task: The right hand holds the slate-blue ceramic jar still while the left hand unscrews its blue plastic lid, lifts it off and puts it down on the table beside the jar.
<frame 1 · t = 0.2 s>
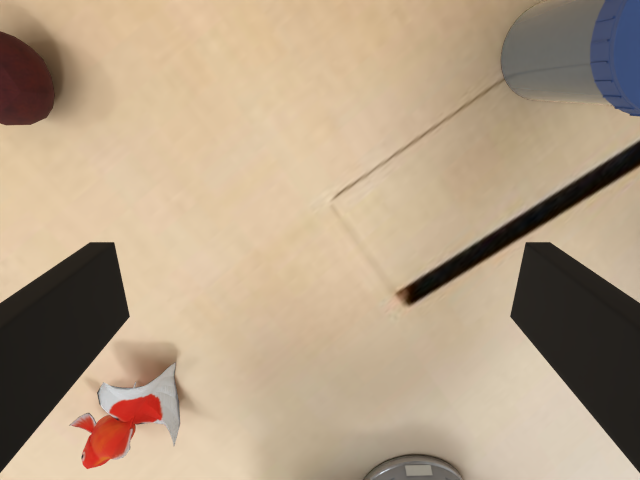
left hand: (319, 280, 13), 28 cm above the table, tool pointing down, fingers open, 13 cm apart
jar: (546, 52, 35), on the table
dark maroon ball: (32, 81, 36), on the table
fish: (143, 389, 50), on the table
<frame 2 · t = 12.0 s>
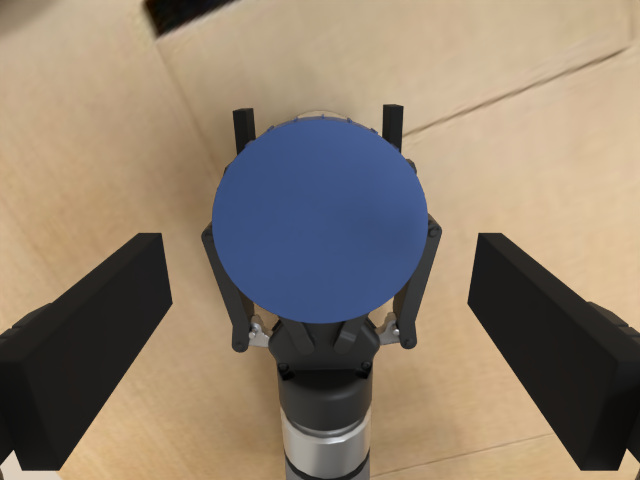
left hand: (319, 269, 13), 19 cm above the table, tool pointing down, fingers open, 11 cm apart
right hand: (317, 107, 24), fingers closed on jar, 8 cm apart
lid: (320, 229, 17), point 15 cm above the table, screwed on, not yet turned
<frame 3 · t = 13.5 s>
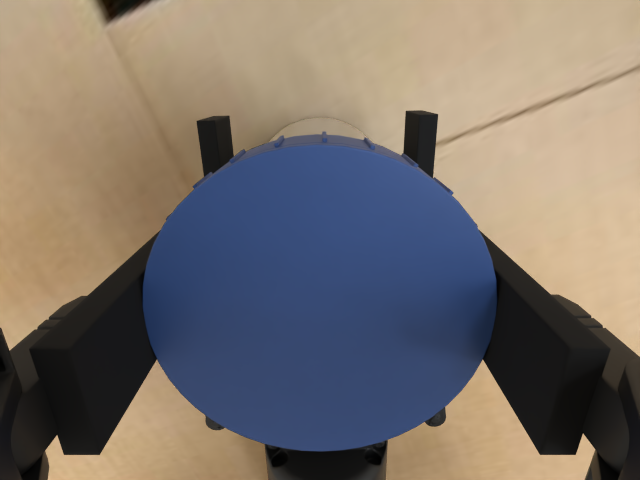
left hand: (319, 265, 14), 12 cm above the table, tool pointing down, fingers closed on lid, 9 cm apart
jar: (319, 185, 25), on the table, touching right hand
lid: (319, 316, 11), point 15 cm above the table, screwed on, not yet turned, touching left hand
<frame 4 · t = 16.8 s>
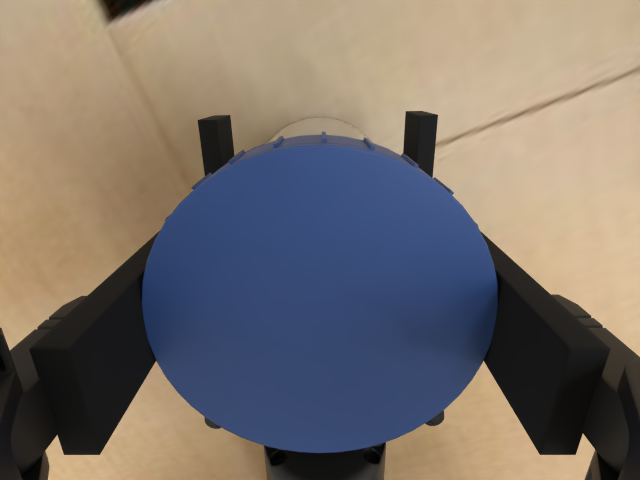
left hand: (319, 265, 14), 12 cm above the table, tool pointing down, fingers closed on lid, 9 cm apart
jar: (319, 185, 25), on the table, touching right hand
lid: (319, 317, 11), point 15 cm above the table, turned 111° so far, risen 0.1 cm, still on its thread, touching left hand
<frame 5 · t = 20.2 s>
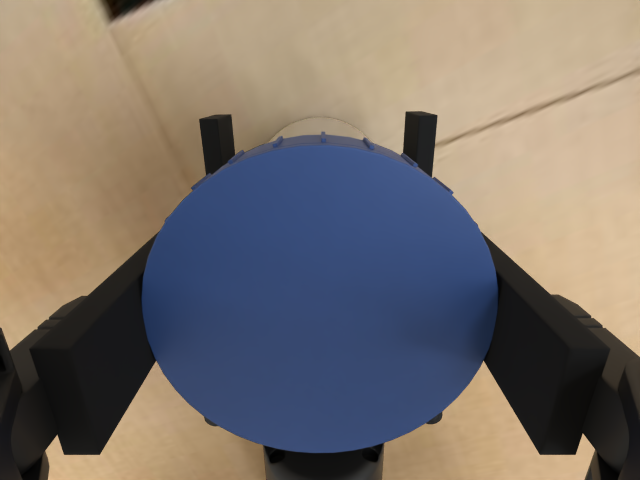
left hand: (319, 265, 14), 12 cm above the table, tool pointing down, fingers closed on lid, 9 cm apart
jar: (319, 184, 25), on the table, touching right hand
lid: (319, 317, 11), point 16 cm above the table, turned 223° so far, risen 0.3 cm, still on its thread, touching left hand
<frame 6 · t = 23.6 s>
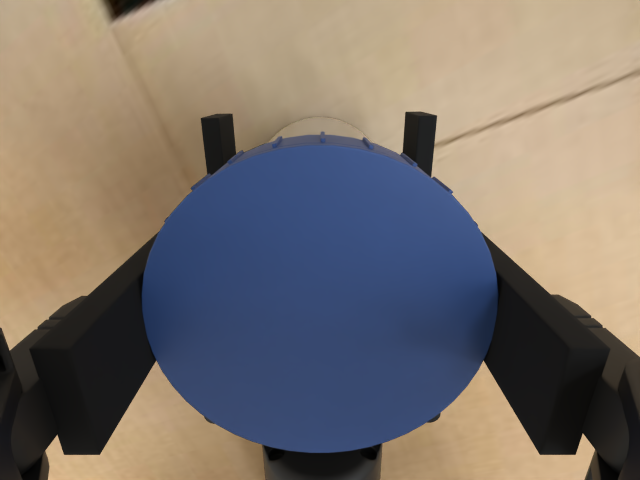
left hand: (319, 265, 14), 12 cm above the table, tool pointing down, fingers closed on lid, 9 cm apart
jar: (319, 184, 25), on the table, touching right hand
lid: (319, 317, 11), point 16 cm above the table, turned 334° so far, risen 0.4 cm, still on its thread, touching left hand
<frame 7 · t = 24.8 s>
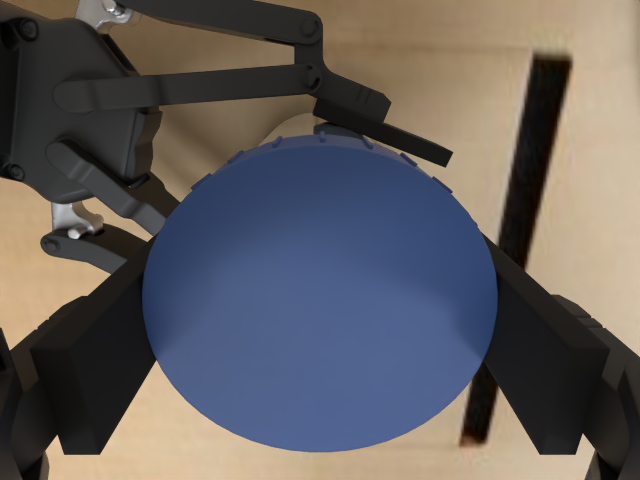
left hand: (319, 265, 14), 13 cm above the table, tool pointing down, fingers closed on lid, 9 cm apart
right hand: (400, 236, 20), fingers closed on jar, 8 cm apart
jar: (317, 177, 26), on the table, touching right hand
lid: (319, 317, 11), point 16 cm above the table, off its thread, touching left hand
when the left hand's fingers open (0 cm above the table, at t = 30.5 s): lid drops 2 cm, point 2 cm above the table.
when the right hand's fingers open (7 cm above the table, at t = 31.6 s): jar stays where it is, on the table.
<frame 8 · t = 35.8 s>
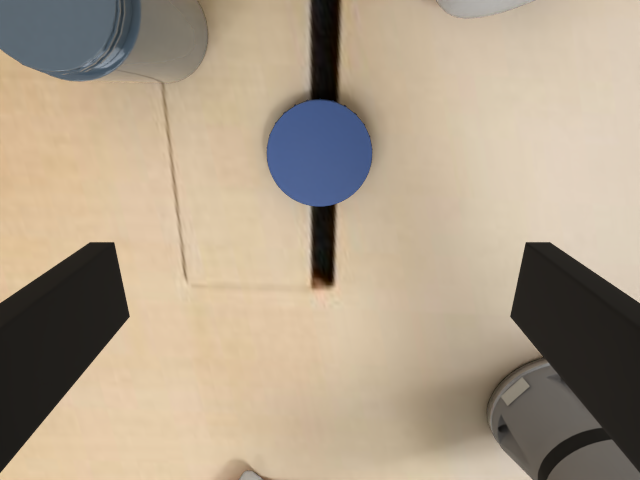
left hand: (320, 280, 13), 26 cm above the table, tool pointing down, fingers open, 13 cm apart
jar: (158, 30, 33), on the table
lid: (319, 155, 35), point 2 cm above the table, off its thread
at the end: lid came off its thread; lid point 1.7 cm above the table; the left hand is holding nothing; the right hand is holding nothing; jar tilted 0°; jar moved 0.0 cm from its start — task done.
